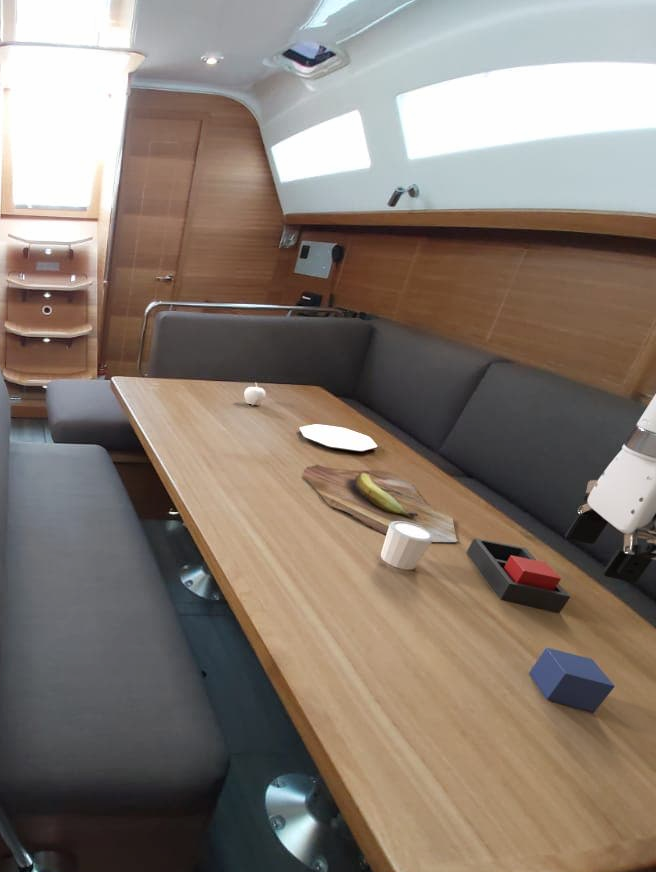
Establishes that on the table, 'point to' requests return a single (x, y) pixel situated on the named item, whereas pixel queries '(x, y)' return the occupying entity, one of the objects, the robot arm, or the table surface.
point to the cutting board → (379, 500)
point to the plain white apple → (254, 395)
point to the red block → (531, 573)
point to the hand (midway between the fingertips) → (597, 558)
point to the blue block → (571, 680)
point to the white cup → (405, 544)
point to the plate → (338, 437)
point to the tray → (491, 565)
